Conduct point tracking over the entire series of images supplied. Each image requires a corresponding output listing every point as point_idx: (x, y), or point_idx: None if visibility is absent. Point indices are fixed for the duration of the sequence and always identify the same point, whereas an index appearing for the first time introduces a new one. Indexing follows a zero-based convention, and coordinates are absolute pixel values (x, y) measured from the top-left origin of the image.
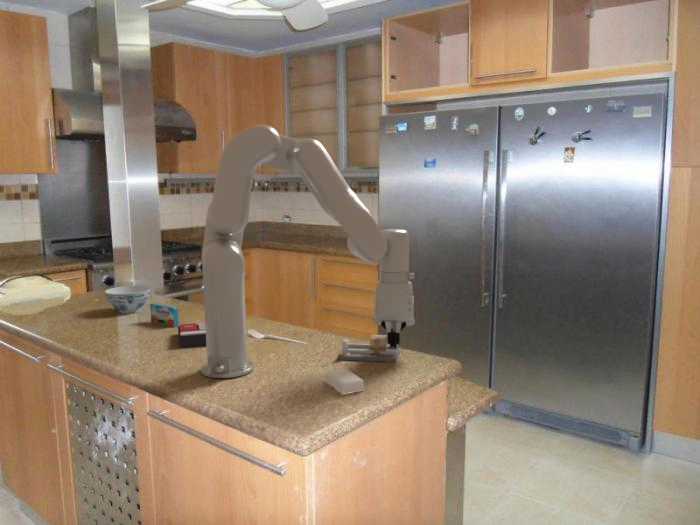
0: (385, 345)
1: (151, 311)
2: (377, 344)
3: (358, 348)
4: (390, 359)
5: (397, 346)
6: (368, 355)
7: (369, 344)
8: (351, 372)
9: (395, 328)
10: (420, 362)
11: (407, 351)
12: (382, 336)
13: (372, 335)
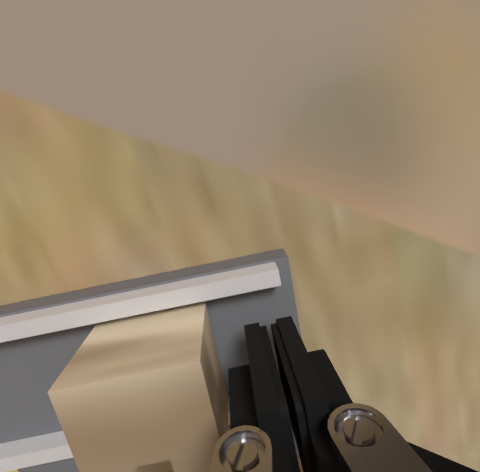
0: (225, 418)
1: None
2: None
3: (11, 359)
4: None
5: (278, 270)
6: None
7: (62, 321)
8: None
9: (322, 459)
10: (438, 387)
11: (332, 217)
12: (172, 408)
13: (65, 413)
